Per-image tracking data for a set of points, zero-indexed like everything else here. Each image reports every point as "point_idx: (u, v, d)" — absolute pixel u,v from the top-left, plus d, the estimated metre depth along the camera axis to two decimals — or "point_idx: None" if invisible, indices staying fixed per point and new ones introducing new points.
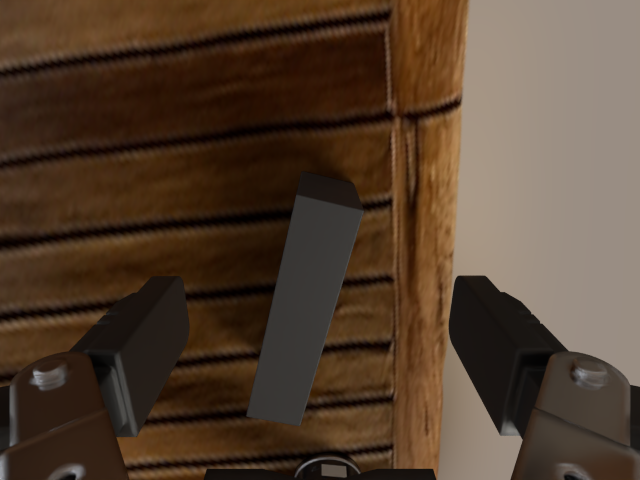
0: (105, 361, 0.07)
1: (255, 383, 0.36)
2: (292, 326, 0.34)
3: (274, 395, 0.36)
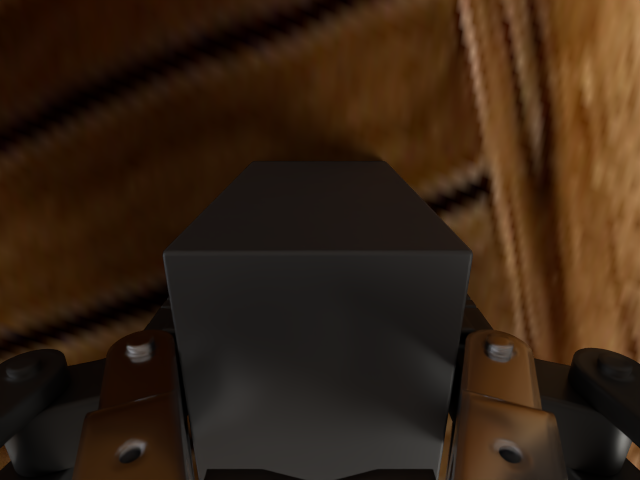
0: None
1: None
2: None
3: None
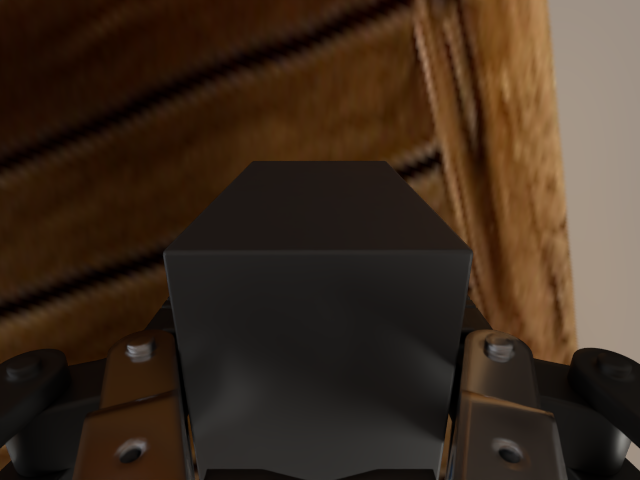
0: None
1: None
2: None
3: None
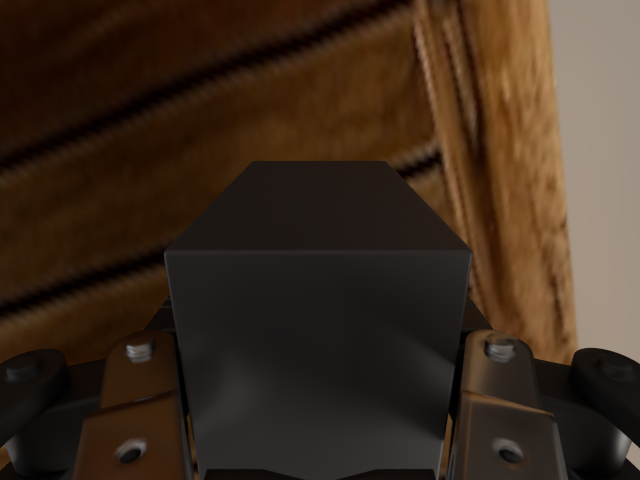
0: None
1: None
2: None
3: None
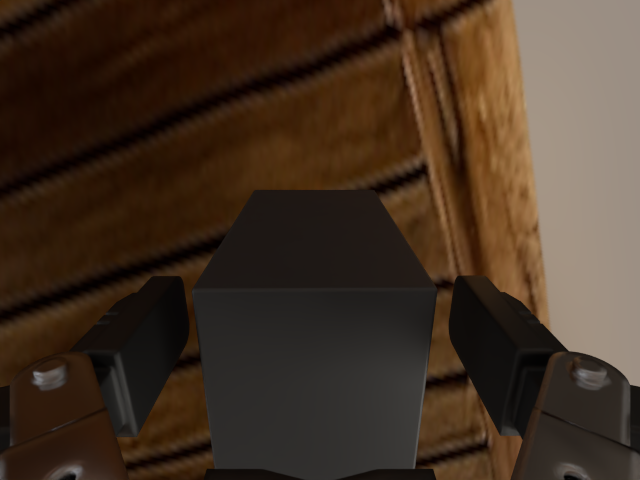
0: (105, 361, 0.07)
1: None
2: None
3: None
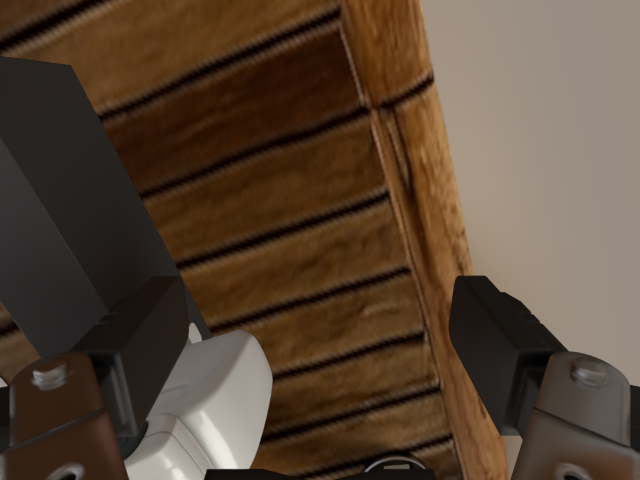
0: (105, 361, 0.07)
1: None
2: (33, 290, 0.21)
3: None
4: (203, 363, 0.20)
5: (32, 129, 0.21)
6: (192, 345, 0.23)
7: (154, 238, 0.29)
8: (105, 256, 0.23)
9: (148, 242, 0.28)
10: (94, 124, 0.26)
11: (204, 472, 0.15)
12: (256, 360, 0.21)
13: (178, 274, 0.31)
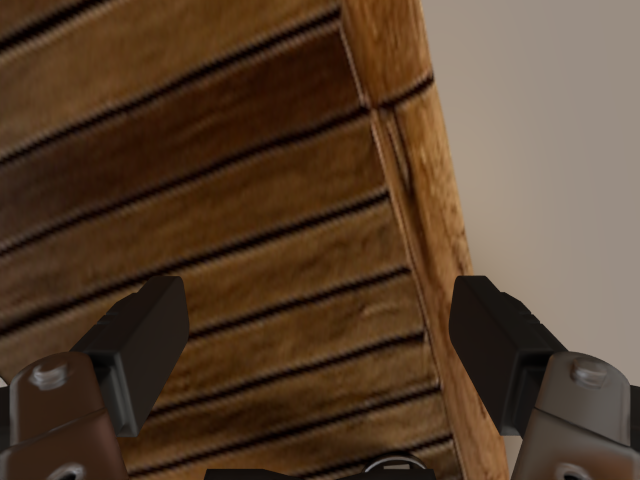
0: (105, 361, 0.07)
1: None
2: None
3: None
4: None
5: None
6: None
7: None
8: None
9: None
10: None
11: None
12: None
13: None
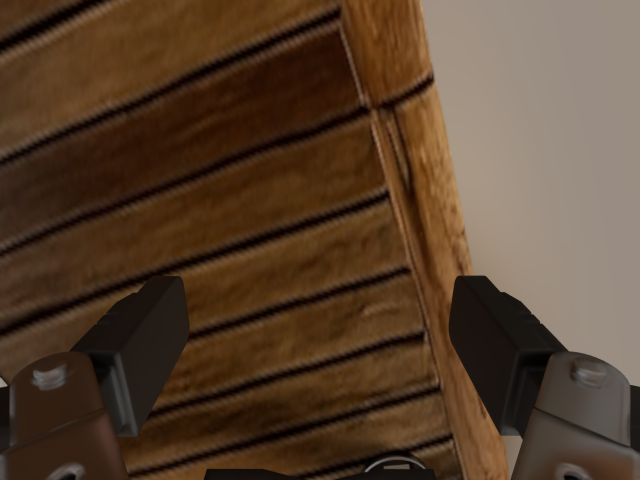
0: (105, 361, 0.07)
1: None
2: None
3: None
4: None
5: None
6: None
7: None
8: None
9: None
10: None
11: None
12: None
13: None
